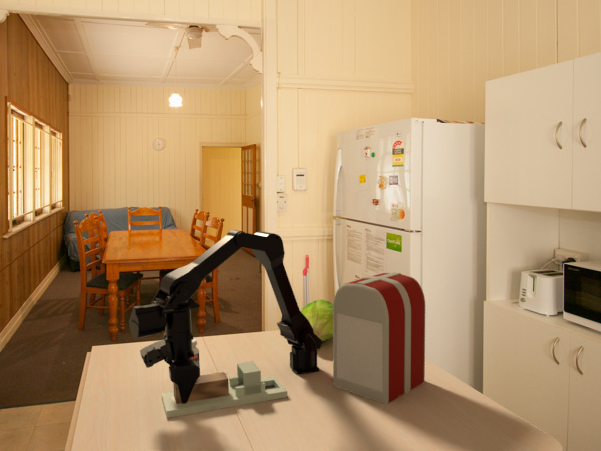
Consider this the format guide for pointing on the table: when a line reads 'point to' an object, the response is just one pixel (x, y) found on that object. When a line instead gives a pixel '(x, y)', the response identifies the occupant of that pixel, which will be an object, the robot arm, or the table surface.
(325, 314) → the lettuce
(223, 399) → the tunnel deck
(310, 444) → the table surface
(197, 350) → the pill bottle
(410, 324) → the red striped block
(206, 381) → the brown rectangular block
